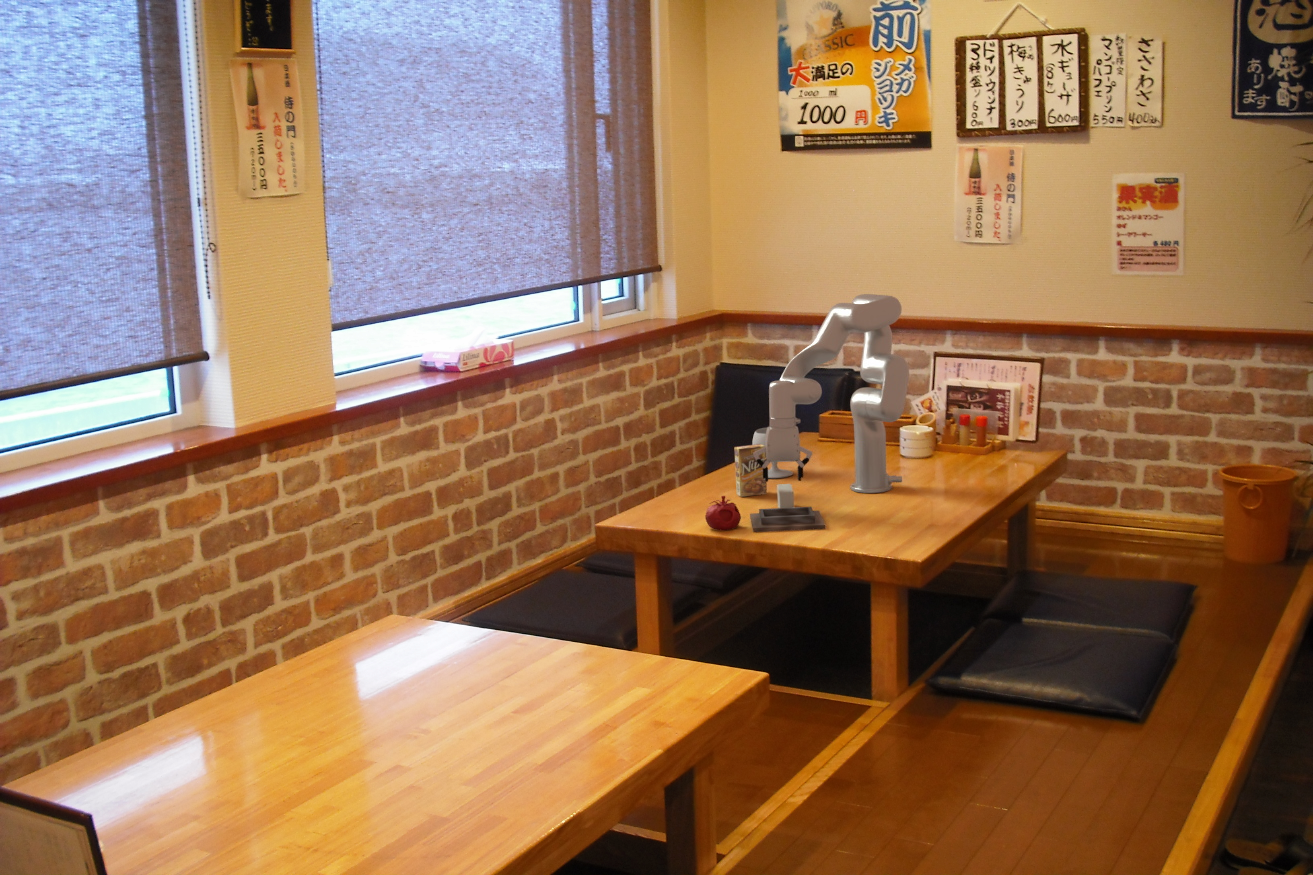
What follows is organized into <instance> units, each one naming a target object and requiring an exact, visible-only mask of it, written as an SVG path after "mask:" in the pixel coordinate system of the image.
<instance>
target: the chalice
mask: <svg viewBox="0 0 1313 875" xmlns="http://www.w3.org/2000/svg"><path fill="white" fill-rule="evenodd" d="M766 430H767V427H762V428H758V429H756V430H755V431H754V434H753V438H752V444H751V445H756V444H762V445H764V446H765V439H766ZM778 463H779V462H770V464H771V467H770V469H768V479H783V478H787V477H790V476H792V475H794V472H793V471H792V470H789V469H781V468H779V467H778Z"/></svg>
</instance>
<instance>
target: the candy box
mask: <svg viewBox="0 0 1313 875" xmlns="http://www.w3.org/2000/svg"><path fill="white" fill-rule="evenodd" d="M763 447H765V446H764V445H762V444H756V445H752V444H748V445H740V446H734V466H735V469H734V471H735V485H736V487H735V490H736V491H735V492H736V495H737V496H739V497H741V498H743V497H749V496H751V497H752V496H761V494H762V495H767V494H768V488H767V485H768V484H767V482H766V481H765V478H763V468H762V466H760V465H759V464H758V463H757V461H756V459H755V457H754V455H753V453H754V452H756V451H758V450H760V449H762V448H763ZM759 458H760V459H761V460H762V461H763V462H764V461H765V459H766V457H765V452H764V453H762V454H761V455H759Z"/></svg>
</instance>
